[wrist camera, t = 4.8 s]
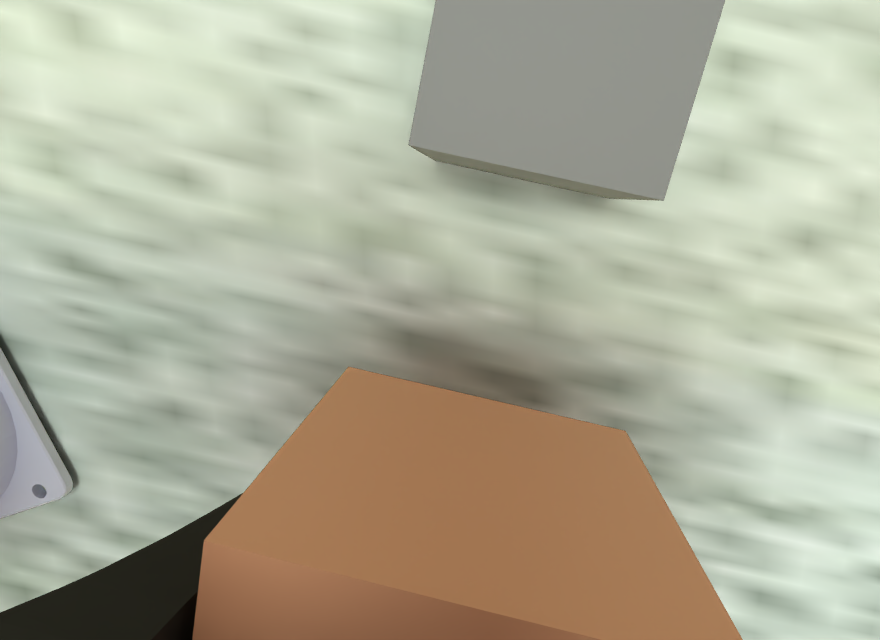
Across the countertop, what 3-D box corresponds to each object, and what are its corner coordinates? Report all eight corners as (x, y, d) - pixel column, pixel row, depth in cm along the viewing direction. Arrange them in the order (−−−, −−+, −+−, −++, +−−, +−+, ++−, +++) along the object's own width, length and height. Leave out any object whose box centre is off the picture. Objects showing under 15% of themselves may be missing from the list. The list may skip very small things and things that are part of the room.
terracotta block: (552, 659, 11) (603, 1047, 6) (307, 597, 11) (158, 923, 6) (625, 431, 9) (765, 681, 5) (348, 366, 10) (203, 540, 5)
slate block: (608, 198, 15) (663, 200, 10) (435, 160, 15) (408, 145, 11) (663, 4, 14) (755, -98, 9) (474, -35, 14) (465, -154, 9)
